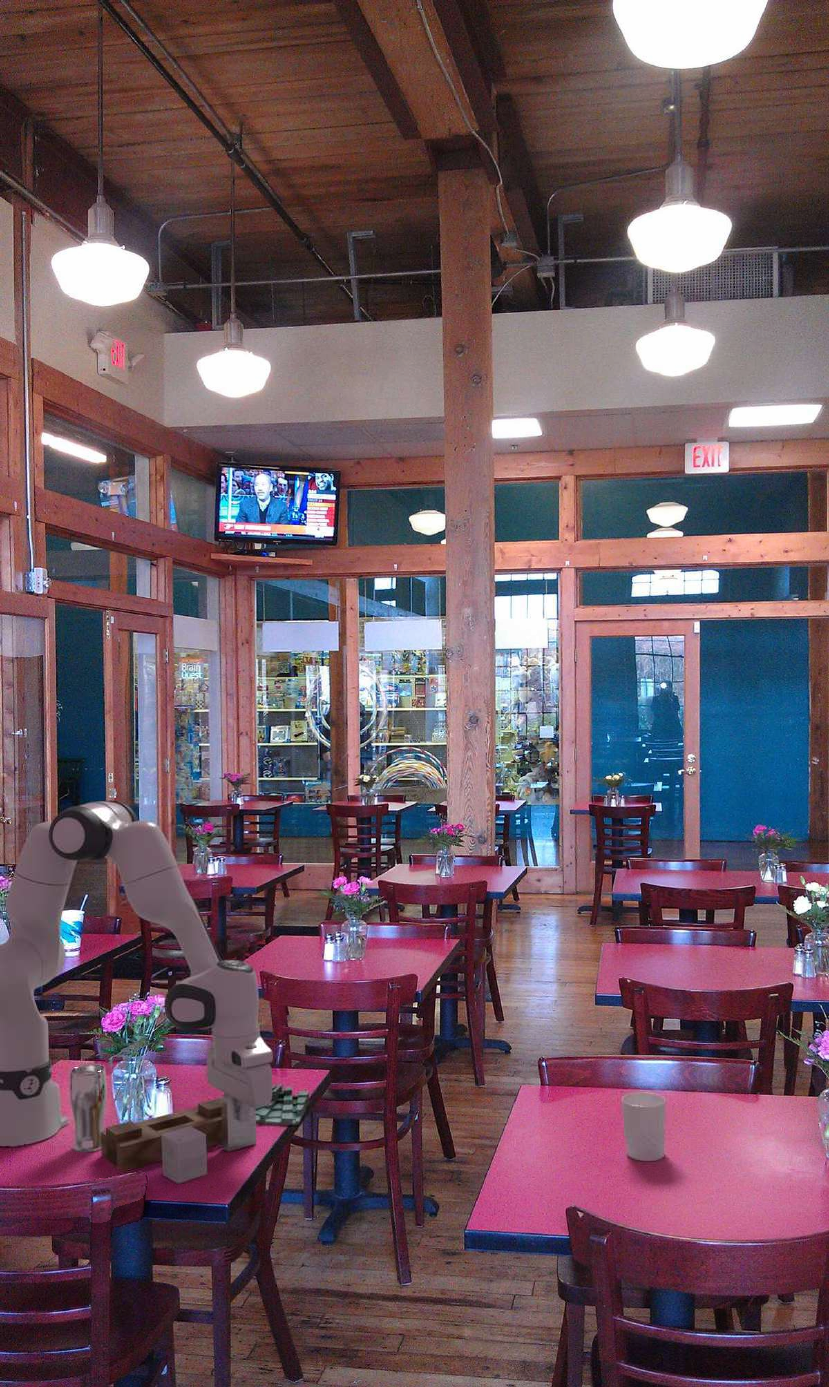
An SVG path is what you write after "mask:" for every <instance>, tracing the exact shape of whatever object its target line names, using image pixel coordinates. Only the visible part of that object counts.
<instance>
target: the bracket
mask: <svg viewBox="0 0 829 1387" xmlns="http://www.w3.org/2000/svg"><path fill="white" fill-rule="evenodd" d="M220 1096H221V1097H220V1098H221V1108H222V1143H221V1144H222V1146H221V1147H222V1149H224V1150H225V1151H227V1153H229V1152H232V1151H236V1150H239V1149H243V1148H246V1147H250V1146H254V1145H256V1144H257V1123H256V1111H255V1109H254V1108H252V1107H251V1110H250V1112H249V1121H248V1122H245V1123H241V1122H240V1121H238V1116H237V1112H240V1107H241V1106H240V1105H239V1100H237V1099H235V1098H234V1097H232V1096H230V1095H228V1094H225V1095H224V1094H221V1095H220Z"/></svg>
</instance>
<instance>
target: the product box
mask: <svg viewBox="0 0 829 1387" xmlns="http://www.w3.org/2000/svg"><path fill="white" fill-rule="evenodd" d="M207 1156H208V1155H207V1148H206V1134H204V1133H202V1132H200V1131H198V1130H197V1129H195V1128H193V1127H191V1126H188V1127H185V1128H181V1129H178V1130H175V1131H172V1132H168V1133H165V1134H162V1161H161V1162H162V1176H165V1177H166V1178H168V1179H170V1180H171V1181H173V1182H174V1183H176V1184H178V1185H179V1184H182V1183H184V1182H185V1183H186V1182H188V1181H192V1180H194V1179H197V1178H201V1177H203V1176H207V1175H208V1164H207V1163H208V1161H207V1160H208V1157H207Z"/></svg>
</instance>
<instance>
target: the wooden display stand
mask: <svg viewBox="0 0 829 1387" xmlns="http://www.w3.org/2000/svg"><path fill="white" fill-rule="evenodd" d="M188 1126H191V1127H193V1128H195V1129H197V1130H198V1131H200V1132H202V1133H204V1134H206V1149H207V1148H209V1147H213V1146H216V1145H220V1144H222V1108H221V1097H218V1098H214V1099H210V1100H206V1101H202V1102H198V1104H197V1106H195V1107H190V1108H187V1109H183V1110H180V1111H176V1112H173V1113H172V1112H170V1113H168V1114H164V1115H160V1116H157V1117H152V1118H149V1119H145V1120H142V1121H141V1120H140V1121H137V1122H134V1121H131V1120H129V1121H125V1122H122V1123H119V1124H114V1125H113V1124H112V1125H110V1126H106V1127H105V1130H104V1131H102V1132H101V1149H100V1150H101V1157H103V1159H105V1160H106V1161H108V1162H109V1163H111V1164H112V1165H113V1166H114V1167H115V1168H117V1169H118V1170H119V1171H120V1172H122V1173H123V1172H126V1171H130V1170H134V1169H136V1168H139V1167H144V1166H147V1165H150V1164H151V1165H152V1164H154V1163H158V1162H162V1134H165V1133H168V1132H172V1131H175V1130H178V1129H181V1128H185V1127H188Z"/></svg>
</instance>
